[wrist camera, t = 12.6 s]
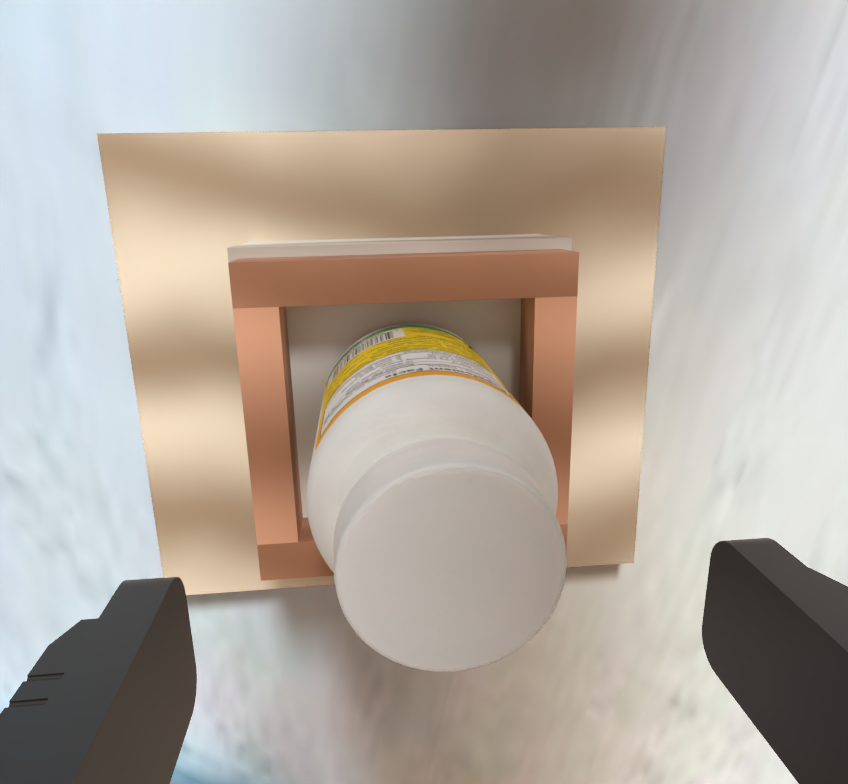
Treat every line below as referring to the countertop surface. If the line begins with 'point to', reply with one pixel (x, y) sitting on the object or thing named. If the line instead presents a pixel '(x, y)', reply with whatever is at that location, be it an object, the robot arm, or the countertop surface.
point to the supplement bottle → (433, 502)
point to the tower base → (371, 198)
